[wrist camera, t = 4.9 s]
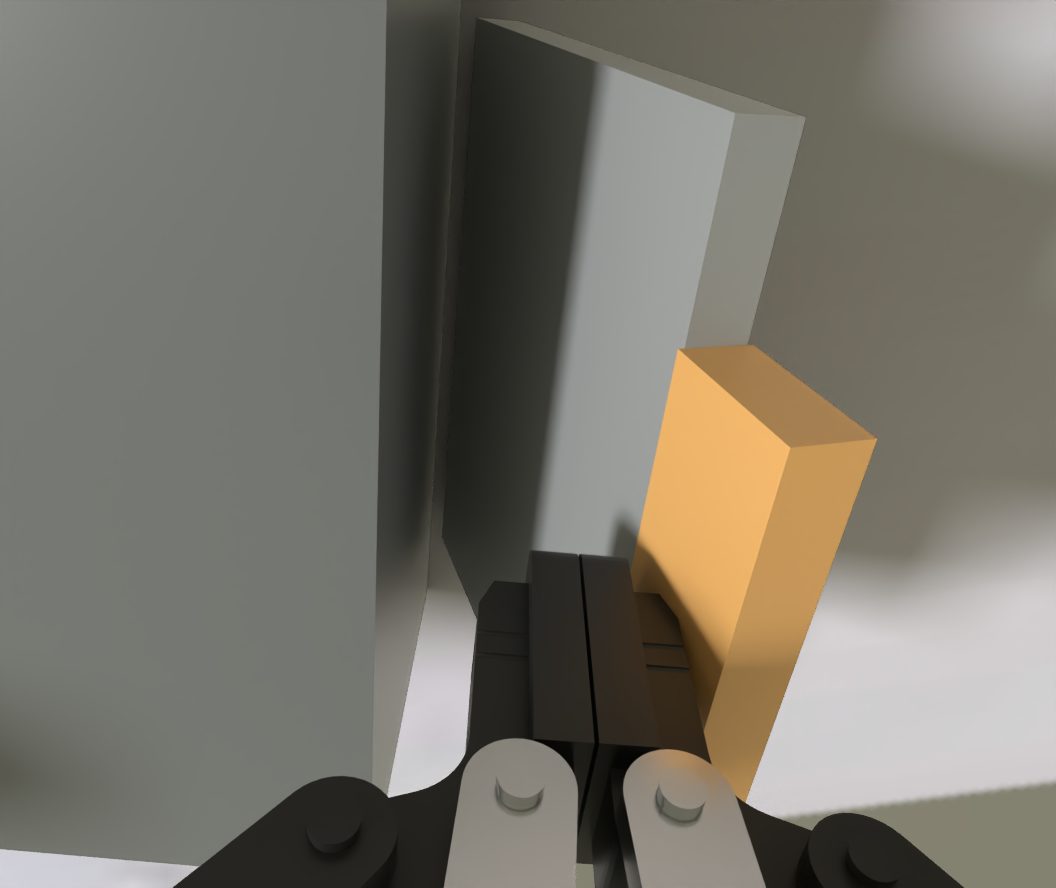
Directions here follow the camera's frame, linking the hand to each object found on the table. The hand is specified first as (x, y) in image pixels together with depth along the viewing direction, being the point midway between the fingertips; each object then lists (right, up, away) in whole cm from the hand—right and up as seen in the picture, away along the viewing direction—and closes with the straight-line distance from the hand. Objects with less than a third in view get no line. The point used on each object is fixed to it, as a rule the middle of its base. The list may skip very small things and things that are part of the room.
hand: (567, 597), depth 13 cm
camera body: (-8, +8, +9) cm, 14 cm away
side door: (-2, +6, +9) cm, 11 cm away
